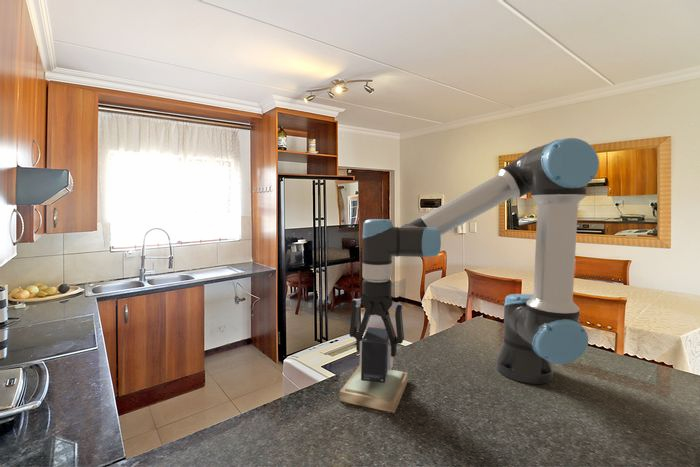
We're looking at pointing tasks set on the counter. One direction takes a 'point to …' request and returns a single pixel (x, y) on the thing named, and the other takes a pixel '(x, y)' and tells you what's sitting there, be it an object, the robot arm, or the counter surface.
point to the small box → (374, 355)
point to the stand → (375, 391)
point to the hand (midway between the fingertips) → (376, 365)
